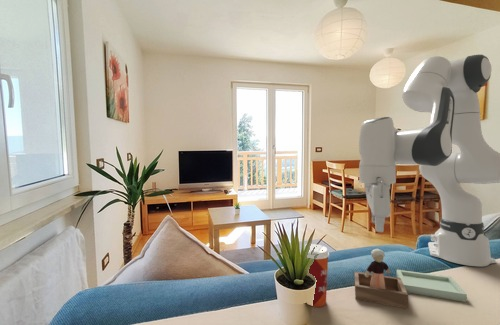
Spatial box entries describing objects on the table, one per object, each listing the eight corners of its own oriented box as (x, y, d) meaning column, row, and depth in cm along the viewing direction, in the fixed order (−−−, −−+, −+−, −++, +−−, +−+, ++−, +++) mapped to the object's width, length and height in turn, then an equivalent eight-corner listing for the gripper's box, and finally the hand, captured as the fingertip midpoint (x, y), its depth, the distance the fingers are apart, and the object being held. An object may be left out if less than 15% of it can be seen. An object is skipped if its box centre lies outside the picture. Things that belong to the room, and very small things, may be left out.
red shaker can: (332, 311, 59) (331, 254, 59) (300, 308, 60) (299, 252, 60) (328, 294, 67) (327, 243, 67) (300, 291, 68) (299, 242, 68)
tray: (396, 275, 76) (396, 269, 76) (451, 283, 71) (451, 276, 71) (403, 291, 67) (403, 284, 67) (466, 302, 62) (466, 294, 62)
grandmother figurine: (375, 302, 62) (374, 253, 62) (362, 294, 66) (362, 248, 66) (394, 294, 66) (394, 248, 66) (382, 288, 69) (381, 244, 69)
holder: (354, 283, 72) (354, 271, 72) (400, 290, 68) (400, 278, 68) (355, 299, 64) (355, 286, 64) (408, 308, 59) (408, 294, 59)
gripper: (397, 179, 55) (398, 239, 55) (384, 174, 74) (385, 219, 74) (366, 178, 57) (367, 236, 57) (362, 174, 76) (362, 217, 76)
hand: (377, 226), depth 66 cm, fingers open, 8 cm apart
